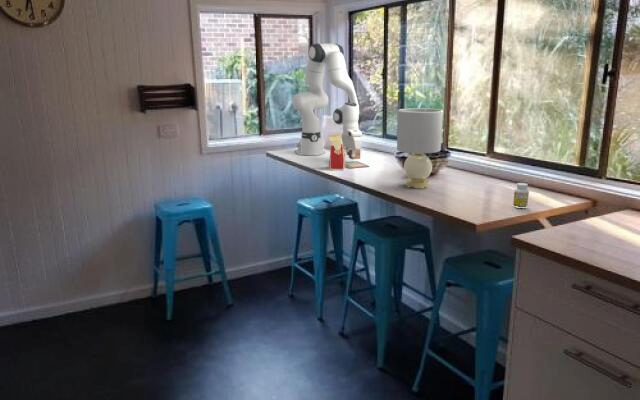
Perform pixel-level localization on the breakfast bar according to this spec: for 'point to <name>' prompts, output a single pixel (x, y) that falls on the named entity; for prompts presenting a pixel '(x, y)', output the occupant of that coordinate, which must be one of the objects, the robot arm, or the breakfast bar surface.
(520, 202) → the supplement bottle
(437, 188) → the breakfast bar surface
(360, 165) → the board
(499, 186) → the breakfast bar surface
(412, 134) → the lamp
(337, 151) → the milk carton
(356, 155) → the brown wooden cube
